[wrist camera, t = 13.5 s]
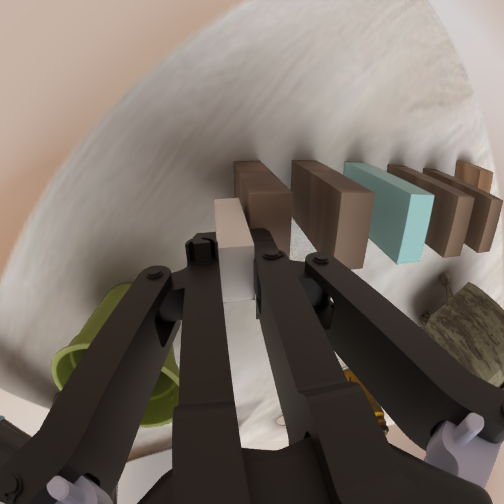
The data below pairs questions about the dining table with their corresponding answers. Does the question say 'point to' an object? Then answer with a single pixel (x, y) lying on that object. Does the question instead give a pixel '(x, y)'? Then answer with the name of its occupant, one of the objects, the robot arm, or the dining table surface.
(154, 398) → the plant pot
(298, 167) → the domino
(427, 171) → the domino
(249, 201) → the domino
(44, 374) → the dining table surface
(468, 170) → the block
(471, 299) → the tabletop clock
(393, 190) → the teal domino
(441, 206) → the domino
